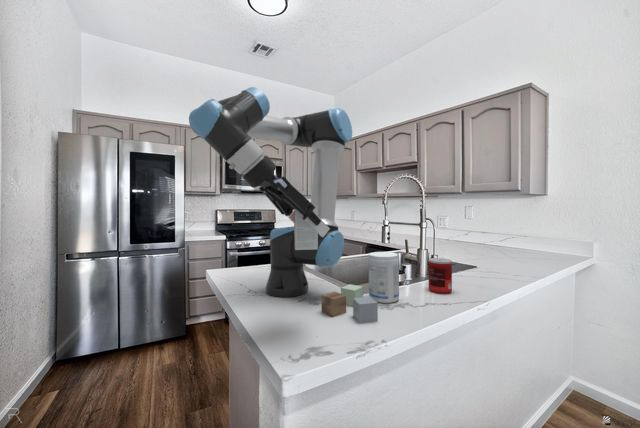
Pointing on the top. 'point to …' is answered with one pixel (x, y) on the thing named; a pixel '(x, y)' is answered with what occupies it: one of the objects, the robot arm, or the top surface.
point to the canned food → (440, 275)
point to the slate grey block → (365, 309)
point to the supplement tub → (383, 277)
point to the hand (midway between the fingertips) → (316, 231)
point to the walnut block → (333, 304)
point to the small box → (304, 232)
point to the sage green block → (352, 293)
